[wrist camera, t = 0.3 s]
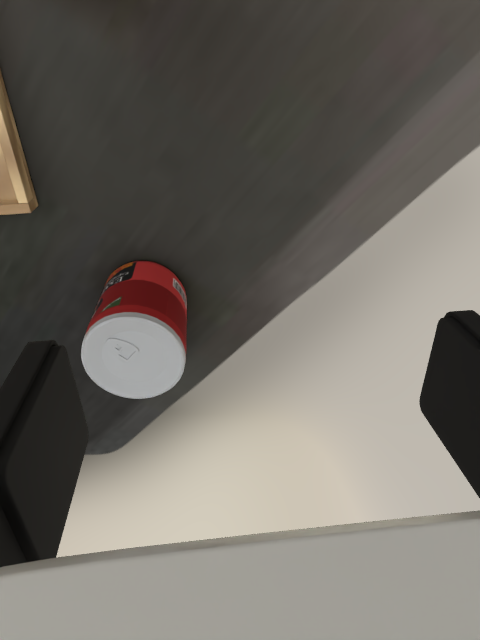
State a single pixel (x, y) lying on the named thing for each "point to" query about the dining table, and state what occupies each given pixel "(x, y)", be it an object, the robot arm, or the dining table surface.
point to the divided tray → (13, 164)
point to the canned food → (137, 332)
